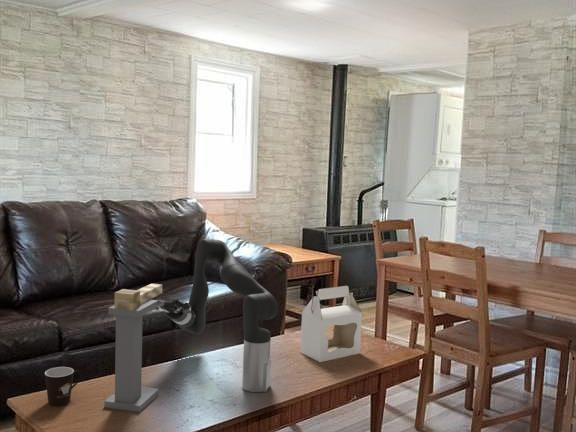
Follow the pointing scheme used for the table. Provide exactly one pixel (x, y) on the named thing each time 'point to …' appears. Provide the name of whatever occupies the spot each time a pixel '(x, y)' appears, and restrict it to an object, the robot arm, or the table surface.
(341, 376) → the table surface
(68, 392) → the coffee mug
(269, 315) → the robot arm
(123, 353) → the grey stand
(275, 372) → the table surface
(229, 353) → the table surface
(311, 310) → the gable box
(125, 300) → the beech bar
